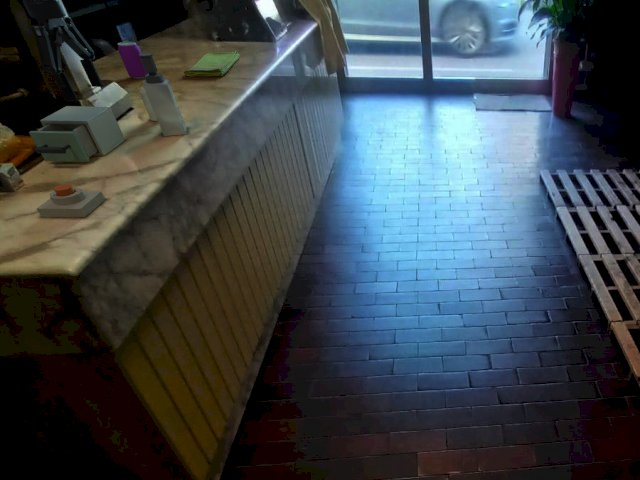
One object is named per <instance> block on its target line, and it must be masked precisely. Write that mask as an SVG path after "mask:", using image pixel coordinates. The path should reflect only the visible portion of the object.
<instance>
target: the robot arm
mask: <svg viewBox="0 0 640 480" xmlns="http://www.w3.org/2000/svg"><path fill="white" fill-rule="evenodd" d="M22 4H23V5H24V7H25V9H26V11H27V14H28V15H29V16H30V18H32V19H35V20H36V21H37V23H38V25H30V28H31V31H32V33H33V35H34V39H35V42H36V46H37V51H38V55H39V59H40V62H41V63H40V64H41V67H42V70H43V72H45V73H46V74H52V76H53V78H54V80H55V82H56V84H57V86H58V87H59V89H60V91H61V93H62V96H63V97H64V99H65V101H71V102H77V101H79V98H78V96H77V93H76V91H75V90H74V88H73V86H72V83H71V81H70V79H69V77H68V75H67V73H66V72H65V71H63V69H62V67H63V66H62V56H61V55H62V53H61V48H62V46H63V44H64V43H65V44H66V45H67V46H68V47H69V48H70V49H71V50H72V51H73V52H74V53H75V54H76V55H77V56H78V57H79V58H80V60H79V62H80V64H81V67H82V69H83V70H84V72H85V74H86V77H87V79H88V81H89V83H90V85H91V87H94V88H103V87H104V84H103V82H102V80H101V78H100V75H99V73H98V70H97V69H96V67H95V64H94V62H93V60H95V59H96V56H95V51H94V50H93V48H92V47H91V45H90V44H89V43H88V42H87V40H86V39H85V38H84V36H83V35H82V34H81V32H80V31H79V30H78V28H77V27H76V25H75V23H74V21H73V19H72V18H71V17H70V16H66V15H67V14H66V11H65V9H64V7H63V5H62V3H61V0H22Z"/></svg>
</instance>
